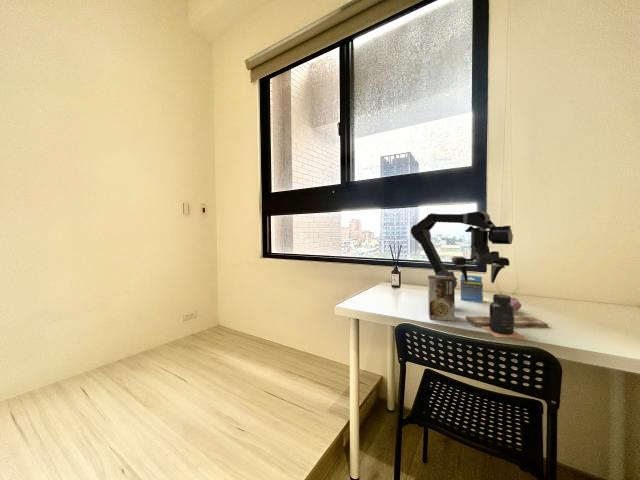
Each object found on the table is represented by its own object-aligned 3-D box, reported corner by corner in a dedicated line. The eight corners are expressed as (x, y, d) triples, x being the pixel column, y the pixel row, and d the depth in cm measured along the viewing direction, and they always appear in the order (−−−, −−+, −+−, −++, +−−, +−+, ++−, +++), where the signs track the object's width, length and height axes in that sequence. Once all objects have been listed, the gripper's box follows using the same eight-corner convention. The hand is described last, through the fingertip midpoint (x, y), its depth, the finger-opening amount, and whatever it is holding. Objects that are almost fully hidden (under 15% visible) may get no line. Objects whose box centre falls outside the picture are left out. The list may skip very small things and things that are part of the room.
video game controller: (516, 319, 102) (526, 303, 101) (505, 313, 103) (514, 298, 102) (503, 310, 112) (512, 296, 111) (493, 306, 112) (501, 291, 112)
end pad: (496, 337, 83) (496, 336, 83) (481, 327, 91) (481, 326, 91) (524, 337, 82) (524, 337, 82) (507, 327, 90) (507, 326, 90)
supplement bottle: (484, 327, 90) (484, 293, 89) (503, 326, 90) (503, 292, 90) (499, 335, 83) (500, 299, 82) (519, 334, 83) (520, 298, 83)
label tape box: (483, 301, 121) (483, 275, 121) (481, 303, 118) (481, 276, 118) (462, 298, 127) (462, 273, 126) (460, 300, 124) (460, 274, 123)
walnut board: (474, 326, 92) (474, 322, 92) (465, 319, 99) (465, 316, 99) (547, 327, 89) (547, 323, 89) (533, 320, 96) (533, 316, 96)
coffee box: (452, 315, 103) (452, 275, 102) (455, 321, 97) (455, 278, 96) (427, 313, 106) (427, 274, 105) (428, 319, 100) (428, 277, 99)
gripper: (458, 245, 97) (458, 286, 97) (516, 244, 92) (516, 288, 92) (451, 243, 107) (451, 280, 108) (503, 242, 102) (503, 281, 103)
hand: (479, 282), depth 103 cm, fingers open, 9 cm apart
